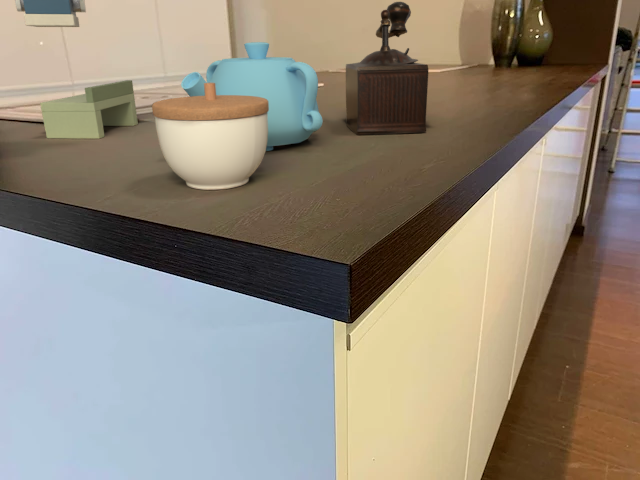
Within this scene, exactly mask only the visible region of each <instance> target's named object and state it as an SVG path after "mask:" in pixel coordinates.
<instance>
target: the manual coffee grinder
mask: <svg viewBox="0 0 640 480" xmlns="http://www.w3.org/2000/svg"><path fill="white" fill-rule="evenodd" d="M411 14H412V10H411V8H410V5H409V4H408V3H406V2H404V1H393V2H392V3H390V4H389V5H388V6H387V8H386V9H383V10H381V11H380V19H381V20H380V25H379V27H378V28H377V30H376V31H375V36H376V37H377V38H380V39H381V47H380V49H379V50H376V51H373V52H371V53H369V54H367V55H366V56H364V58H363V59H361V61H359V62H353V63H346V64H345V108H346V109H345V112H346V121H345V123H346V127H347V128H348V129H349V130H350V131H351V132H353V133H354V134H355V135H392V134H394V135H395V134H416V133H417V134H418V133H420V134H421V133H423V134H424V133H426V132H427V126H426V124H427V107H428V105H427V104H428V87H429V65H428V64H425V63H420V62H419V59H416V58H412V57H411V56H410V55H408V54H409V51H410V48H409V47H408V48H406V49H405V52H403V51H401V50H398V49H395V48H391V47H390V45H389V39H391V38H393V37H396V38H400V36H402V35H405V34H407V33H408V29H407V27H406V23H407V22H408V20H409V18H410V17H411ZM389 28H390V29H389Z"/></svg>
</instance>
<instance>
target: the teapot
mask: <svg viewBox="0 0 640 480" xmlns="http://www.w3.org/2000/svg"><path fill="white" fill-rule="evenodd" d="M243 45H244V49H245V52H246V54H247V56H248V57H232V58H222V59H221V60H220V59H219V60H216V61H213V62H212V63H210V64H209V65H208V66H207V68H206V74H205V78H206V80H205V79H204V77H203V75H201V73H200V72H198V71H193V72H190V73H188V74H187V75H186V76H184V78H183V79H182V81H181V82H180V83H181V84H180V86H181V88H182V89H183V90H184V92H186V94H187V95H188V97H191V96H205V90H204V83H215V87H216V95H242V96H255V97H261V98H265V99H267V100H268V104H269V111H268V140H267V146H266V152H269V151H273V150H274V147H275V146H277V147H278V146H285V145H291V144H300V143H302V142H304V141H306V140H308V139H309V138H310V137H311V135H312V134H313V133H314V132H316V131H319V130H320V129H321V127H322V126H323V123H324V122H323V117H322V114H321V113H320V110H319V105H318V101H317V96H318V91H319V78H318V75H317V72H316V70H315V69H314V67H312V66H311V65H310V64H308V63H306V62H303V61H296V60H295V59H293V57H288V56H287V57H285V56H267V55H268V52H269V48H270V43H269V42H264V41H254V42H253V41H252V42H246V43H244V44H243Z"/></svg>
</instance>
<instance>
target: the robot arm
mask: <svg viewBox="0 0 640 480" xmlns="http://www.w3.org/2000/svg"><path fill="white" fill-rule="evenodd" d="M71 2H72V3H73V4H72V8H73V12H76V13H87V7H86V1H85V0H71ZM14 3H15V4H14V5H15V8H16V11H17V12H19V13H21V12H23V13H25V8H24V3H23V0H14Z"/></svg>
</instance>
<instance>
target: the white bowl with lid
mask: <svg viewBox="0 0 640 480" xmlns="http://www.w3.org/2000/svg"><path fill="white" fill-rule="evenodd" d="M204 90H205V96H191V97H190V96H181V97H172V98H167V99H161V100H158V101H157V100H156V101H155V102H153V103H152V105H151V111H152V115H153V117H154V123H155V130H156V137H157V140H158V144H159V145H158V146H159V147H160V151H161V153H162V156H163V157H164V160H165V162H166V163H167V165H168V167H169V168H170V169H171V170H172V172H174V174H175V175H177V176H178V177H179V178H181V179H182V180H183V181H185V184H186V186H187V187H189V188H192V189H197V190H208V191H209V190H214V191H215V190H226V189H233V188H238V187H241V186H243V185H246V184H247V183H249V181H250V177H251V176H252V175H253V174H254V173H255V172H256V171H257V169H258V168H259V167H260V165H261V164H262V161H263V160H264V157H265V154H266V152H267V151H266V146H267V140H268V111H269V104H268V100H267V99H265V98H261V97H255V96H242V95H216V87H215V83H204Z"/></svg>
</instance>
